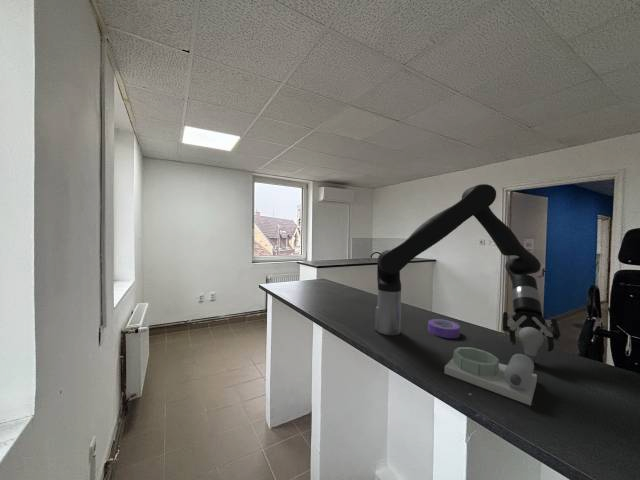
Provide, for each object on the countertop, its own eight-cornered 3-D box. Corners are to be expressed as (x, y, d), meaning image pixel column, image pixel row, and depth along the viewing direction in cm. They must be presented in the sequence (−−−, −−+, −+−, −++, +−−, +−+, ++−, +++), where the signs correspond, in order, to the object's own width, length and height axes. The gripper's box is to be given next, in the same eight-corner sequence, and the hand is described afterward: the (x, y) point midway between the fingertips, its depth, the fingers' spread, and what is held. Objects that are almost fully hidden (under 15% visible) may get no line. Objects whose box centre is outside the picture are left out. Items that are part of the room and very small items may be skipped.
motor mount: (444, 373, 72) (444, 349, 72) (459, 357, 82) (460, 335, 82) (530, 405, 58) (531, 375, 58) (536, 381, 68) (537, 356, 68)
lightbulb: (537, 359, 81) (538, 325, 81) (547, 368, 75) (548, 332, 75) (514, 356, 83) (515, 323, 83) (522, 365, 77) (523, 329, 77)
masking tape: (464, 339, 97) (464, 329, 97) (432, 337, 98) (432, 327, 98) (453, 328, 108) (453, 320, 108) (424, 326, 110) (425, 318, 110)
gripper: (502, 293, 89) (504, 336, 80) (556, 299, 82) (565, 347, 72) (500, 304, 94) (502, 346, 84) (551, 311, 86) (559, 358, 77)
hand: (531, 346), depth 78 cm, fingers open, 8 cm apart
